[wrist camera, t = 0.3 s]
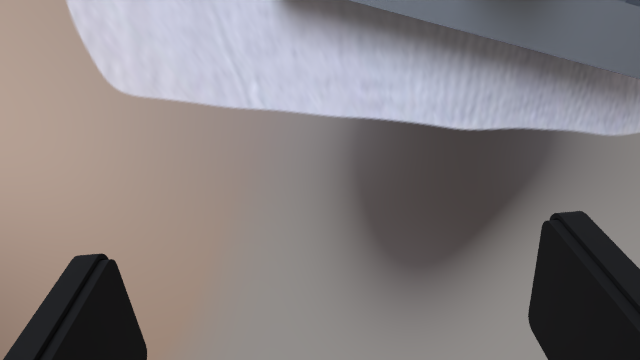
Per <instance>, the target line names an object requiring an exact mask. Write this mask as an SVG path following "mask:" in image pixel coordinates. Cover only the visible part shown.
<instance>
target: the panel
mask: <svg viewBox="0 0 640 360" xmlns="http://www.w3.org/2000/svg"><path fill="white" fill-rule="evenodd" d="M350 1H353V2H357V3H361V4H365V5H368V6H372V7H376V8H379V9H383V10H387V11H390V12H394V13H398V14H401V15H405V16H409V17H413V18H416V19H420V20H424V21H427V22H431V23H435V24H438V25H442V26H446V27H449V28H453V29H457V30H461V31H464V32H468V33H472V34H475V35H479V36H483V37H486V38H490V39H494V40H498V41H501V42H505V43H509V44H512V45H516V46H520V47H523V48H527V49H531V50H534V51H538V52H542V53H546V54H549V55H553V56H557V57H560V58H564V59H568V60H571V61H575V62H579V63H582V64H586V65H590V66H594V67H597V68H601V69H605V70H608V71H612V72H616V73H619V74H623V75H627V76H630V77H634V78H638V79H640V0H350Z"/></svg>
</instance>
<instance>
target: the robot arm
mask: <svg viewBox="0 0 640 360" xmlns="http://www.w3.org/2000/svg"><path fill="white" fill-rule="evenodd" d="M528 315H529V316H528V317H529V323H530V327H531V329H532V332H533V333H534V335H535V337H536V339H537V340H538V342H539V344H540V346H541V348H542V349H543V351H544V353H545V355H546V357H547V358H548V360H640V269H639V268H638V267H637V266H636V265H635V264H634V263H633V262H632V261H631V260H630V259H629V258H628V257H627V256H626V255H625V254H624V253H623V252H622V251H621V250H620V248H619V247H618V246H616V244H615V243H614V242H613V241H612V240H611V239H610V238H609V237H608V236H607V235H606V234H605V233H604V232H603V231H602V230H601V229H600V228H599V227H598V226H597V225H596V224H595V223H594V222H593V221H592V220H591V219H590V217H589V216H588V215H587V214H585V213H584V212H582V211H576V212H565V213H554V214H553V215H552V216H551V217H550V221H545V222H544V223H543V225H542V230H541V236H540V243H539V249H538V256H537V262H536V269H535V275H534V281H533V288H532V294H531V300H530V306H529V314H528ZM3 360H147V348H146V344H145V342H144V339H143V336H142V333H141V330H140V328H139V325H138V322H137V319H136V316H135V314H134V311H133V308H132V305H131V303H130V300H129V297H128V294H127V292H126V289H125V286H124V283H123V280H122V278H121V275H120V272H119V269H118V266H117V264H116V262H115V261H114V260H112V259H110V260H109V259H108V257H107V256H106V255H105V254H92V255H80V256H76V257H74V258H73V259H72V260H71V262H70V263H69V265H68V266H67V268H66V269H65V271H64V272H63V273H62V275H61V276H60V278H59V280H58V281H57V282H56V284H55V285H54V287H53V288H52V290H51V291H50V292H49V294H48V295H47V297H46V298H45V300H44V301H43V303H42V304H41V305H40V307H39V308H38V310H37V311H36V313H35V314H34V315H33V317H32V319H31V320H30V321H29V323H28V324H27V326H26V327H25V329H24V330H23V332H22V333H21V334H20V336H19V337H18V339H17V340H16V342H15V343H14V345H13V346H12V347H11V349H10V350H9V352H8V353H7V355H6V356H5V358H4V359H3Z"/></svg>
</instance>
